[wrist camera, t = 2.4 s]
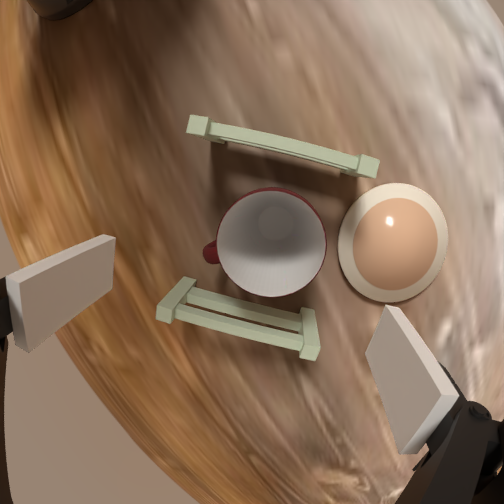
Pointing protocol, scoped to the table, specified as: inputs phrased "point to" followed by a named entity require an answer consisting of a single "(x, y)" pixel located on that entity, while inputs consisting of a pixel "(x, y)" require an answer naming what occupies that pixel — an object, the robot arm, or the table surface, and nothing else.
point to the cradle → (187, 292)
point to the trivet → (392, 242)
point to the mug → (269, 243)
